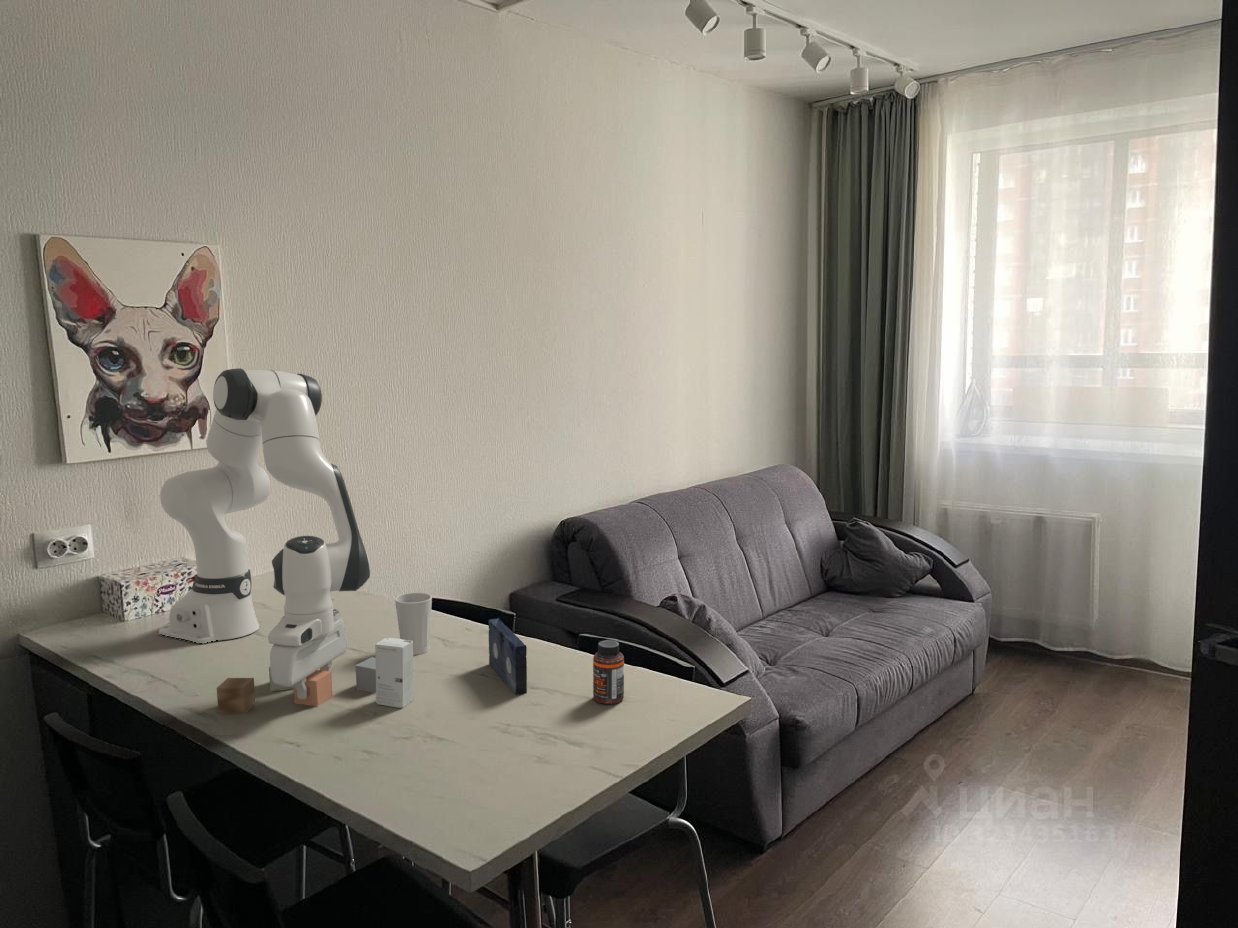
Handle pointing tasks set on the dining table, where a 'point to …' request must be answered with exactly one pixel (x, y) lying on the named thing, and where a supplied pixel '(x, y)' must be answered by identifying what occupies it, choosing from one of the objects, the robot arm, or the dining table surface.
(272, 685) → the sage cube
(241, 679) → the walnut cube
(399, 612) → the cup
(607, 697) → the supplement bottle
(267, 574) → the dining table surface
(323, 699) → the terracotta cube
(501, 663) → the vhs cassette tape
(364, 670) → the slate cube
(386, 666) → the skincare box
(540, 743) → the dining table surface
